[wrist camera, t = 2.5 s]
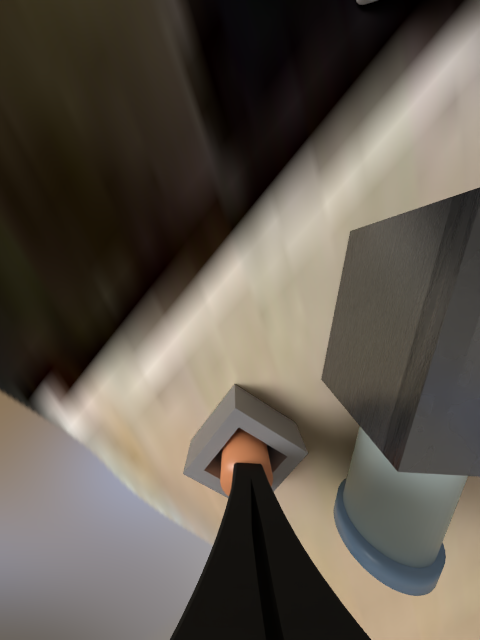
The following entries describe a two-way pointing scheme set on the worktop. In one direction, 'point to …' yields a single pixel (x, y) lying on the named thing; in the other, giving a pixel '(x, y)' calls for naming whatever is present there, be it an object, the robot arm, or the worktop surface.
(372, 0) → the medicine bottle
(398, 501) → the cylinder
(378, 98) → the worktop surface
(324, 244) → the worktop surface
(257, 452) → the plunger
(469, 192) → the block
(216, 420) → the block
